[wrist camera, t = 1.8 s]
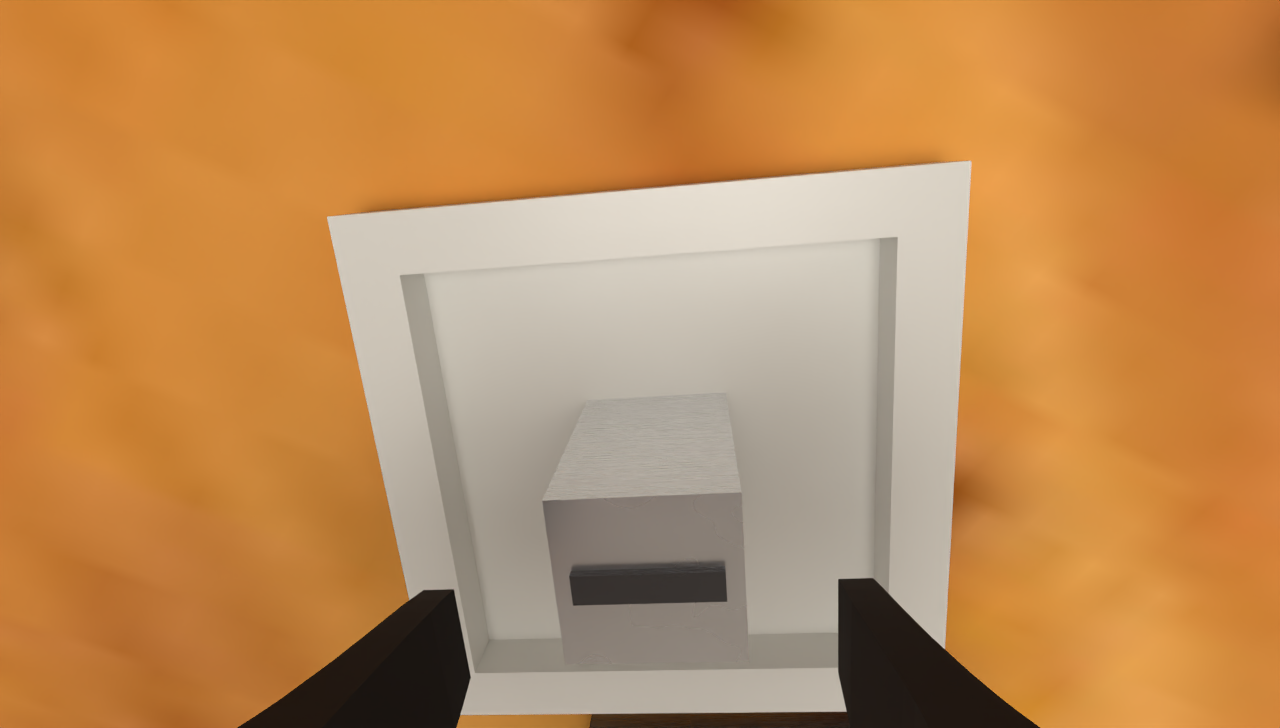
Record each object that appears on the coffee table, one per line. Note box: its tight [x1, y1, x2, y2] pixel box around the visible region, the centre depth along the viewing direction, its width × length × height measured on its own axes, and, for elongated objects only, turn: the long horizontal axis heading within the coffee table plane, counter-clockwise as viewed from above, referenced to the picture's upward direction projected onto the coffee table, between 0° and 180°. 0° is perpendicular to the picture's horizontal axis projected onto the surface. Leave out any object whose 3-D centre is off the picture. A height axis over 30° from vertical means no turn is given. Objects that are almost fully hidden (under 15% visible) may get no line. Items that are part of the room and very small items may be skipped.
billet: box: [542, 393, 749, 664], centre depth 16 cm, size 4×4×6 cm
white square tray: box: [327, 161, 971, 715], centre depth 19 cm, size 16×16×2 cm
